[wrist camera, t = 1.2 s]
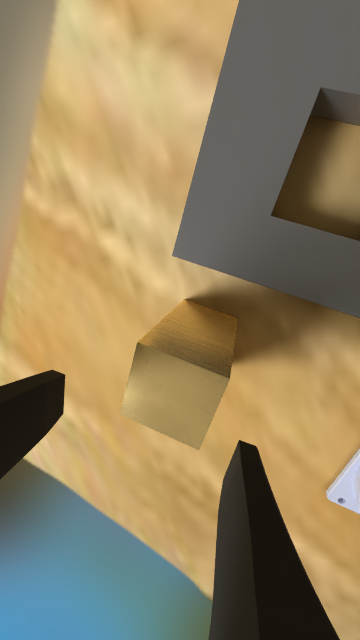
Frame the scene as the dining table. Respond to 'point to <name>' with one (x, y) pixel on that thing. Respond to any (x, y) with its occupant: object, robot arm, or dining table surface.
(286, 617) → the robot arm
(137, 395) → the plug block
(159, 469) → the dining table surface
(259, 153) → the grey flat slab
